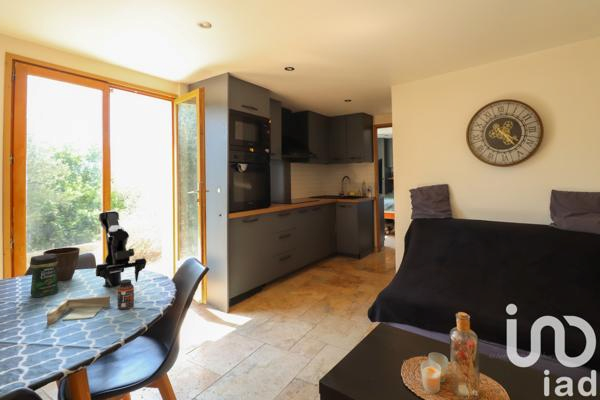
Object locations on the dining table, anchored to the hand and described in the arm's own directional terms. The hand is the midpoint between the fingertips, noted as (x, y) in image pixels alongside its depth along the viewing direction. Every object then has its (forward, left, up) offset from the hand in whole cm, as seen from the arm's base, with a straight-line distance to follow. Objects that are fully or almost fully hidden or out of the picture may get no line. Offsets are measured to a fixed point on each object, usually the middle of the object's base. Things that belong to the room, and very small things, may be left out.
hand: (124, 283), depth 124 cm
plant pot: (-18, -56, -10) cm, 60 cm away
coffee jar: (-1, -45, -10) cm, 46 cm away
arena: (+11, -9, -9) cm, 17 cm away
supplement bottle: (+1, +2, -10) cm, 10 cm away
